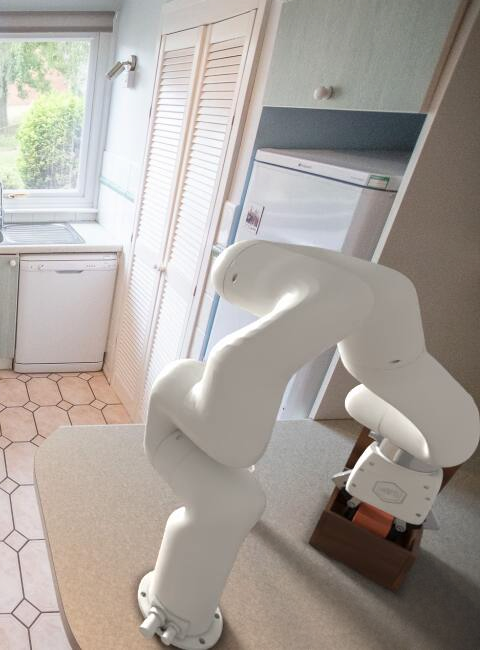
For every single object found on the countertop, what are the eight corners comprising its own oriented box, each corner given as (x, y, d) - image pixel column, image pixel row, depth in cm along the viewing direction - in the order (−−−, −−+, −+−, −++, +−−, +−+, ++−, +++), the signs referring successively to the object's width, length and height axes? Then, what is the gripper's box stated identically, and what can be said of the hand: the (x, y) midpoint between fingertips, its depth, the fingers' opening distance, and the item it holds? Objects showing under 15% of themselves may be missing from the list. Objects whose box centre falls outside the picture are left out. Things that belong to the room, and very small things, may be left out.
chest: (395, 592, 76) (417, 558, 73) (307, 543, 85) (323, 509, 81) (409, 538, 86) (429, 505, 82) (329, 499, 94) (344, 467, 91)
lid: (465, 461, 71) (473, 436, 73) (364, 422, 80) (375, 401, 82) (429, 505, 82) (438, 482, 84) (344, 467, 90) (354, 446, 92)
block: (380, 546, 78) (390, 528, 76) (348, 529, 81) (357, 511, 79) (385, 531, 80) (395, 513, 78) (353, 515, 83) (362, 498, 81)
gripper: (339, 435, 76) (305, 512, 84) (483, 494, 65) (428, 577, 72) (349, 416, 81) (316, 491, 88) (486, 468, 69) (434, 549, 77)
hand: (367, 529), depth 80 cm, fingers closed on block, 4 cm apart
